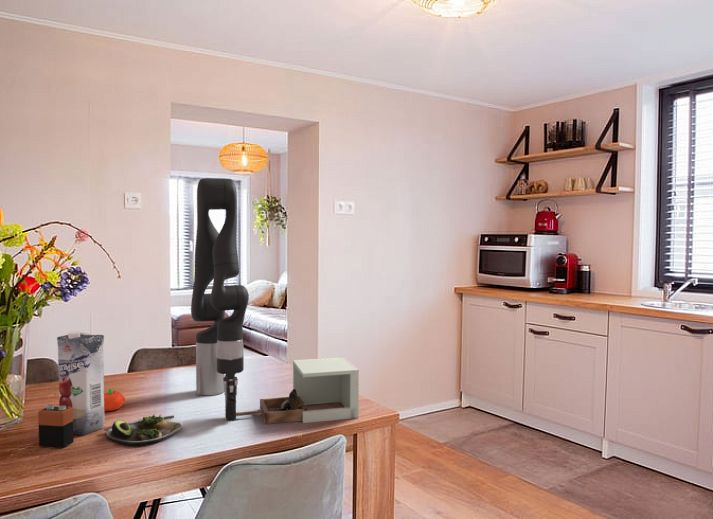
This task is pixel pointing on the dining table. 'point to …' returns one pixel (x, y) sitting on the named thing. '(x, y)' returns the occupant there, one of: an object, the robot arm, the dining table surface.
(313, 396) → the cubby
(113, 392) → the tomato
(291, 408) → the eagle figurine
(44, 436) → the battery
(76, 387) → the juice carton
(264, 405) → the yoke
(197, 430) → the dining table surface
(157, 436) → the salad plate
